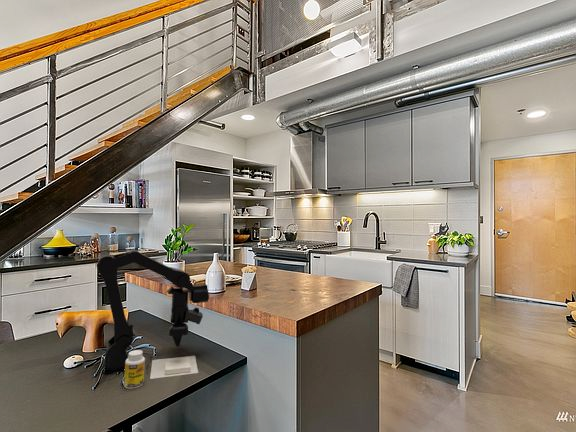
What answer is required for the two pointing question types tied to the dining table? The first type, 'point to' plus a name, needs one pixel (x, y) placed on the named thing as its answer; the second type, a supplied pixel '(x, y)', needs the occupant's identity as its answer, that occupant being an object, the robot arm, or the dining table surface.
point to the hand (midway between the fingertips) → (177, 346)
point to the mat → (159, 367)
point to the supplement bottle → (134, 369)
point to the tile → (177, 366)
